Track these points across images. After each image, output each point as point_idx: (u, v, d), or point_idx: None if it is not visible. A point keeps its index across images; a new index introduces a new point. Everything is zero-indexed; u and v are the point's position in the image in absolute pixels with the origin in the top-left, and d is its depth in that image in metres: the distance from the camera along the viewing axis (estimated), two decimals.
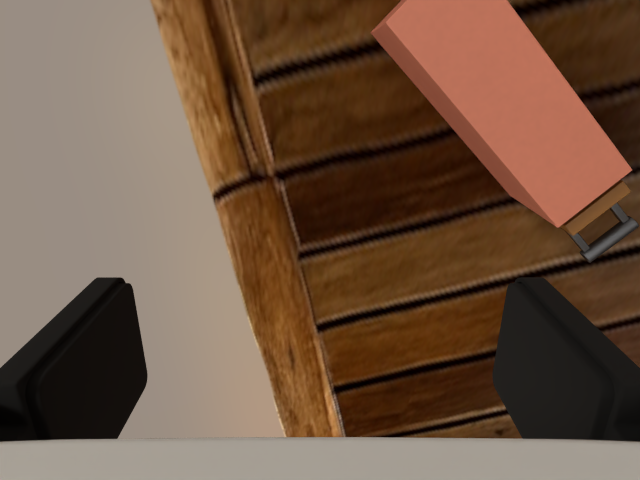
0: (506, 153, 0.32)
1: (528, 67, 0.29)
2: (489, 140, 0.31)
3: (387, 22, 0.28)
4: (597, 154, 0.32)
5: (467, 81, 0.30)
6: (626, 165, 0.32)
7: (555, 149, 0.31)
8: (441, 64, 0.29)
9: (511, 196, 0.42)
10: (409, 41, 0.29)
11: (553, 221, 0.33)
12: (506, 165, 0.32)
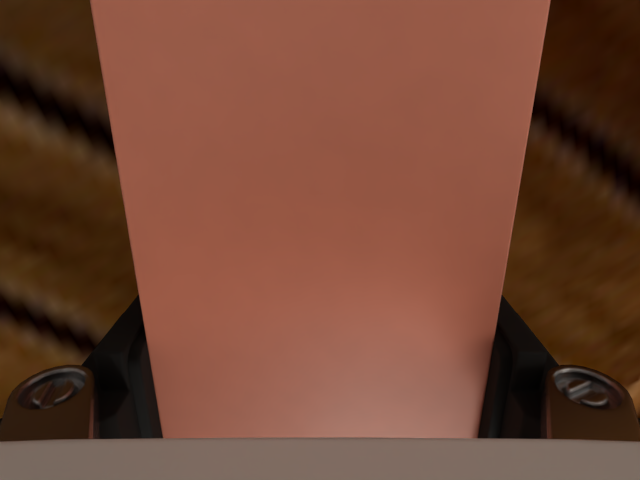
0: None
1: (203, 172, 0.07)
2: (528, 29, 0.06)
3: None
4: None
5: (413, 293, 0.08)
6: None
7: None
8: (435, 391, 0.08)
9: None
10: None
11: None
12: None
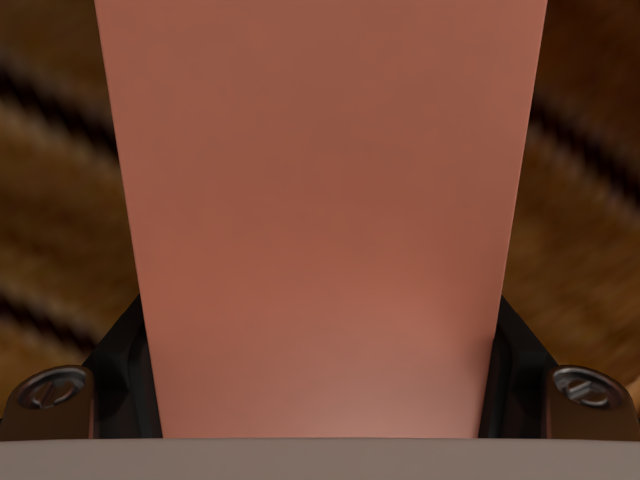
0: None
1: (205, 170, 0.07)
2: (526, 29, 0.06)
3: None
4: None
5: (414, 292, 0.08)
6: None
7: None
8: (435, 390, 0.08)
9: None
10: None
11: None
12: None
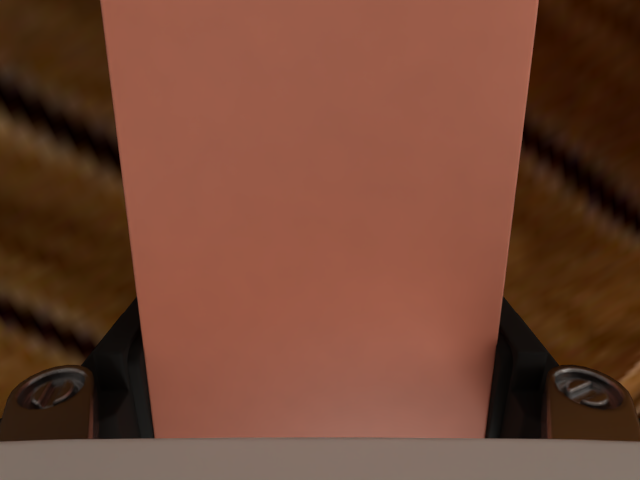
0: None
1: (205, 163, 0.07)
2: (520, 22, 0.06)
3: None
4: None
5: (415, 288, 0.08)
6: None
7: None
8: (439, 393, 0.08)
9: None
10: None
11: None
12: None
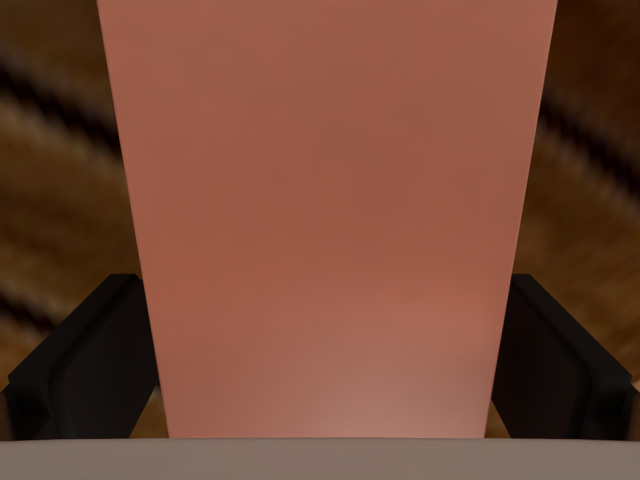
0: None
1: (211, 180, 0.07)
2: (534, 37, 0.06)
3: None
4: None
5: (420, 298, 0.08)
6: None
7: None
8: (441, 396, 0.09)
9: None
10: None
11: None
12: None
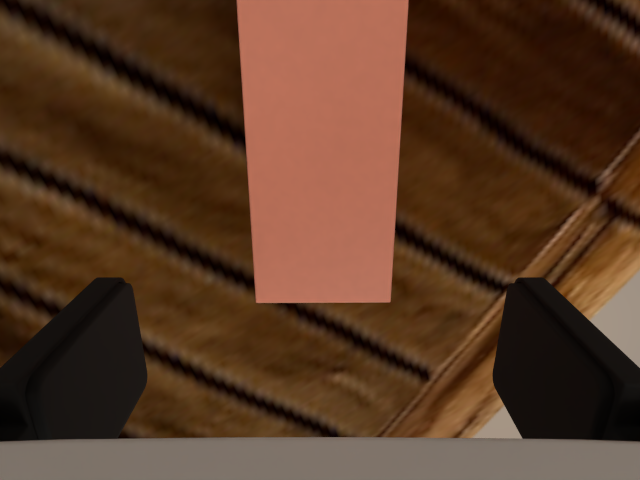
0: (392, 9, 0.16)
1: (277, 111, 0.18)
2: (398, 56, 0.17)
3: (388, 300, 0.21)
4: None
5: (361, 164, 0.19)
6: None
7: None
8: (373, 212, 0.19)
9: None
10: (384, 265, 0.20)
11: None
12: None
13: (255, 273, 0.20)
